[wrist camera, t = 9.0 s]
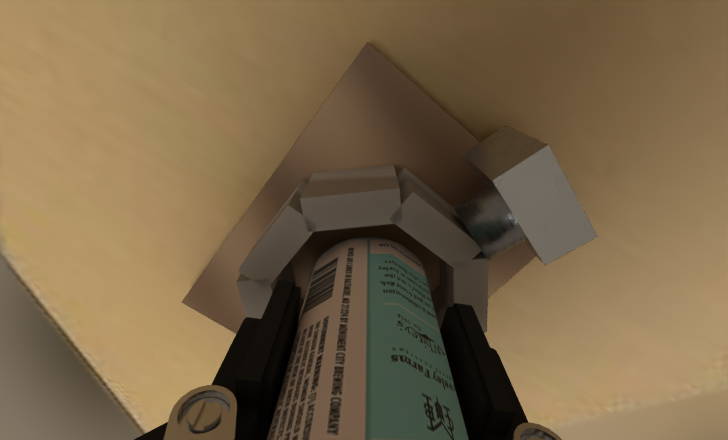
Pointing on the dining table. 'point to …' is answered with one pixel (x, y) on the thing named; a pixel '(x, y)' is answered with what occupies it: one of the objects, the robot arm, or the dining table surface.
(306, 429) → the beer can
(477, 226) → the shaft in
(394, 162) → the octagonal gimbal ring stand
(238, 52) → the dining table surface
